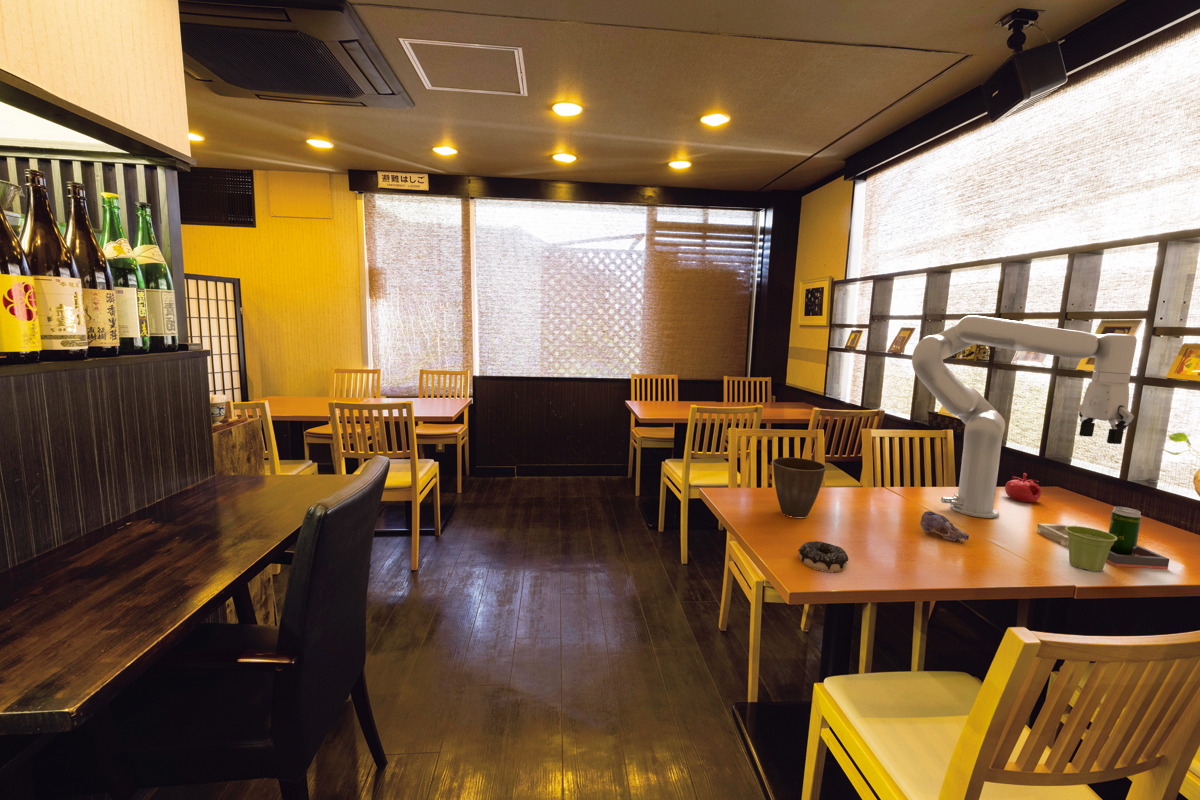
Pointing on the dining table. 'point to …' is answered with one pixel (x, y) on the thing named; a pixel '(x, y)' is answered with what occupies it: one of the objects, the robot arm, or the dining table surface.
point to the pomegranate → (1023, 490)
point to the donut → (823, 556)
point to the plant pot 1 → (797, 484)
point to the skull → (941, 526)
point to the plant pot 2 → (1089, 547)
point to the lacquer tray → (1139, 559)
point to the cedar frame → (1054, 532)
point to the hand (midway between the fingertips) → (1099, 439)
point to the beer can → (1125, 530)
